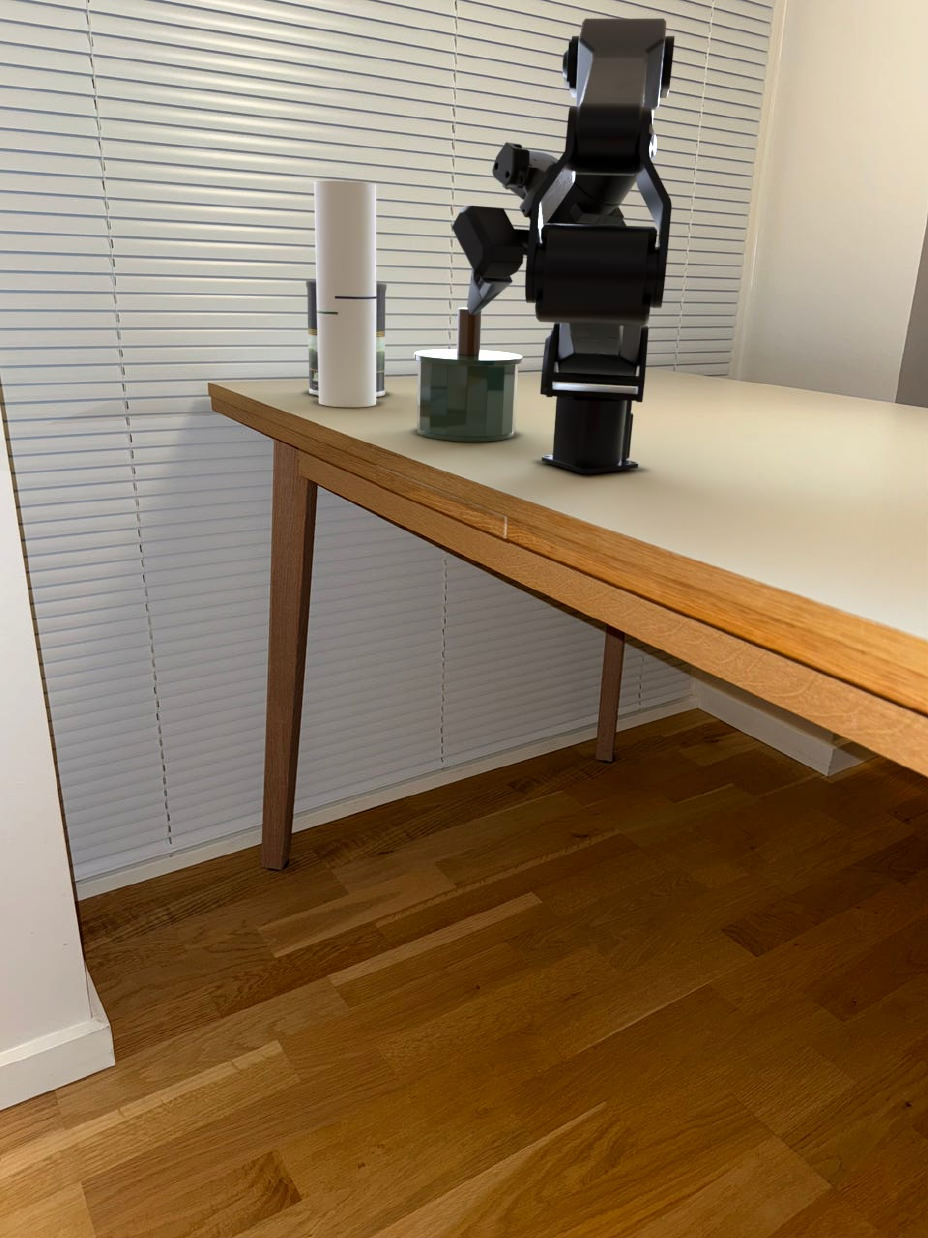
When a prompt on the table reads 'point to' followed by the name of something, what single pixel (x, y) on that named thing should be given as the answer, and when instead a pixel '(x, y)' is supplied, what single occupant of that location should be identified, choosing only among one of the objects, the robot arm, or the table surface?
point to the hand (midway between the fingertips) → (508, 311)
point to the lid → (468, 347)
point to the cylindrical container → (346, 292)
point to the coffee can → (314, 343)
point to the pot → (466, 402)
